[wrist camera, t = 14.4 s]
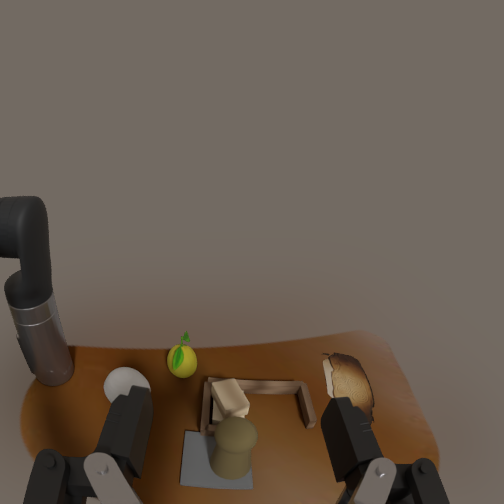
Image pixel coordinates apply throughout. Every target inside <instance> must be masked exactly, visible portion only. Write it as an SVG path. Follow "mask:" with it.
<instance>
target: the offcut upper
mask: <svg viewBox="0 0 504 504" xmlns="http://www.w3.org/2000/svg"><path fill="white" fill-rule="evenodd" d="M211 395H212V397H213V399H214V401H215V403H216V405H217V407H218V409H219V411H220V413H221V415H222V417H223V419H226V418H228V417H234V416H237V417H239V416H243V415H246V414H248V410H249V406H250V403H249V401H248V400H247V398H246V396H245V395H244V393H243V392H242V390H241V388H240V387H239V385H238V383H237V382H236V380H235V378H232V379H228V380H223V381H218V382H213V383H212V387H211Z"/></svg>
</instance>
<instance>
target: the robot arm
mask: <svg viewBox="0 0 504 504" xmlns="http://www.w3.org/2000/svg"><path fill="white" fill-rule="evenodd" d="M0 257H2V258H19V259H20V264H21V270H20V271H17V272H16V273H14V274H13V275H11V276H10V277H9V278H8V279H7V281H6V282H5V286H4V291H5V295H6V299H7V301H8V306H9V309H10V312H11V315H12V318H13V321H14V324H15V327H16V330H17V335H16V337H17V340H18V342H19V345H20V347H21V350H22V352H23V354H24V357H25V359H26V361H27V364H28V366H29V368H30V370H31V372H32V373H33V374H35V375H36V377H37V379H38V380H39V381H40V382H41V383H43V384H45V385H48V386H57V385H61V384H63V383H65V382H66V381H68V380H69V379H70V378H71V376H72V374H73V372H74V365H73V362H72V359H71V356H70V353H69V350H68V346H67V343H66V340H65V337H64V333H63V330H62V326H61V322H60V318H59V315H58V310H57V306H56V302H55V298H54V293H53V288H52V281H51V260H50V250H49V230H48V217H47V211H46V208H45V205H44V203H43V201H42V200H41V199H40V198H39V197H36V196H17V197H4V198H0ZM152 420H153V404H152V399H151V394H150V389H149V388H146V387H141V386H136V385H132V386H131V388H130V391H129V394H128V396H127V395H123V394H120V395H119V396H118V397H117V398H116V399H115V400H114V401H113V402H112V404H111V407H110V410H109V413H108V415H107V418H106V421H105V424H104V426H103V429H102V432H101V435H100V438H99V441H98V444H97V447H96V449H95V451H94V452H93V453H92V454H90V455H88V456H86V457H66V456H62V455H61V454H60V453H59V452H57V451H55V450H53V449H44V450H42V451H40V452H39V453H38V454H37V456H36V459H35V462H34V465H33V469H32V472H31V475H30V479H29V482H28V486H27V490H26V494H25V498H24V502H23V504H86V499H87V497H98V499H99V501H100V502H101V504H143V502H142V501H141V499H140V498H139V496H138V495H137V493H136V492H135V490H134V489H133V487H132V483H133V478H134V477H135V478H139V479H141V474H142V468H143V463H144V458H145V453H146V448H147V443H148V438H149V434H150V429H151V425H152ZM321 428H322V432H323V435H324V439H325V442H326V446H327V449H328V453H329V457H330V460H331V464H332V467H333V471H334V475H335V478H336V482H342V481H345V483H346V486H345V487H344V489H343V491H342V493H341V495H340V496H339V498H338V500H337V502H336V504H449V500H448V498H447V495H446V492H445V490H444V487H443V485H442V482H441V479H440V477H439V474H438V472H437V470H436V467H435V465H434V463H433V462H432V461H431V460H429V459H426V458H420V459H418V460H416V461H415V462H414V463H413V464H394V463H393V462H392V461H391V460H389V459H387V458H384V456H383V455H382V453H381V450H380V448H379V445H378V443H377V441H376V438H375V436H374V433H373V431H372V430H371V426H370V424H369V422H368V419H367V417H366V415H365V413H364V412H363V411H362V410H361V409H360V408H359V407H358V406H354V407H353V405H352V402H351V400H350V398H349V397H336V398H332V399H331V400H330V402H329V404H328V406H327V407H326V409H325V411H324V413H323V415H322V417H321Z"/></svg>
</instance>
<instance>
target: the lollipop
mask: <svg viewBox="0 0 504 504" xmlns="http://www.w3.org/2000/svg"><path fill="white" fill-rule="evenodd" d="M132 385H136V386H141V387H146V388H149V389H150V386H149V383H148V381H147V379H146V378H145V377H144V376H143V375H142V374H141V373H140V372H138V371H137V370H135V369H132V368H129V367H120V368H117V369H115V370H113V371H112V372H111V373H110V374H109V375H108V377H107V379H106V380H105V383H104V390H105V394H106V396H107V398H108V399H109V400H110V402H111V403H112V402H113V401H114V400H115V399H116V398H117V397H118V396H119V395H120V394H123V395H127V396H128V394H129V391H130V388H131V386H132ZM150 392H151V390H150Z"/></svg>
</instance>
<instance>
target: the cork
mask: <svg viewBox="0 0 504 504" xmlns="http://www.w3.org/2000/svg"><path fill="white" fill-rule="evenodd" d="M214 437H215V441H216V446H215V448H214V451H213V453H212V455H211V458H210V467H211V469H212V471H213V472H214V473H215V474H216V475H218V476H219V477H221V478H224V479H228V480H235V479H240V478H242V477H244V476H245V475H246V474H247V473H248V472H249V470H250V468H251V449H252V448H253V447H254V446H255V444H256V441H257V439H258V433H257V430H256V427H255V426H254V425H253V423H252V422H250V421H249V420H247V419H245V418H243V417H237V416H234V417H228V418H226V419H223V420H222V421H221V422H219V424H218V425H217V427H216V428H215V434H214Z"/></svg>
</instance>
